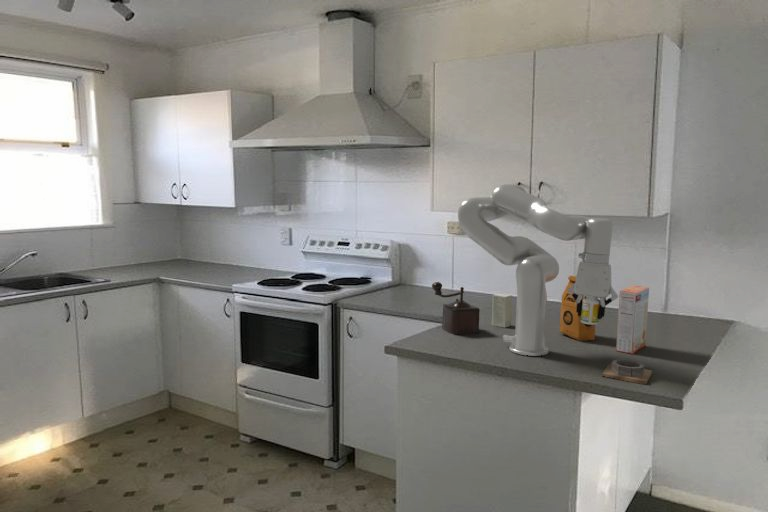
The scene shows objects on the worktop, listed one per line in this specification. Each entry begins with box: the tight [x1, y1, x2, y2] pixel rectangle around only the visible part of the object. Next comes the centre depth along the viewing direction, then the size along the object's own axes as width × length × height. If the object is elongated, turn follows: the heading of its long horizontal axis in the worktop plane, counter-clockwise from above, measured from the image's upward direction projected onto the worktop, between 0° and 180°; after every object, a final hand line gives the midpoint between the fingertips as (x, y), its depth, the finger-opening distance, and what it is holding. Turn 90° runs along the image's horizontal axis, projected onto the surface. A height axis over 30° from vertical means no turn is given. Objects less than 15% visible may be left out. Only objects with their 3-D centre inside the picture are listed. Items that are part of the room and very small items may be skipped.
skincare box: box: [491, 293, 512, 328], centre depth 238 cm, size 6×4×12 cm
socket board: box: [601, 358, 653, 386], centre depth 181 cm, size 12×12×4 cm
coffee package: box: [559, 275, 596, 342], centre depth 223 cm, size 10×12×22 cm
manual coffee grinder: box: [431, 281, 480, 336], centre depth 228 cm, size 16×11×18 cm
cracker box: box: [615, 285, 650, 355], centre depth 210 cm, size 14×6×21 cm, turn 141°
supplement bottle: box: [580, 296, 601, 326], centre depth 190 cm, size 5×5×10 cm
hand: (589, 316), depth 190 cm, fingers closed on supplement bottle, 5 cm apart
